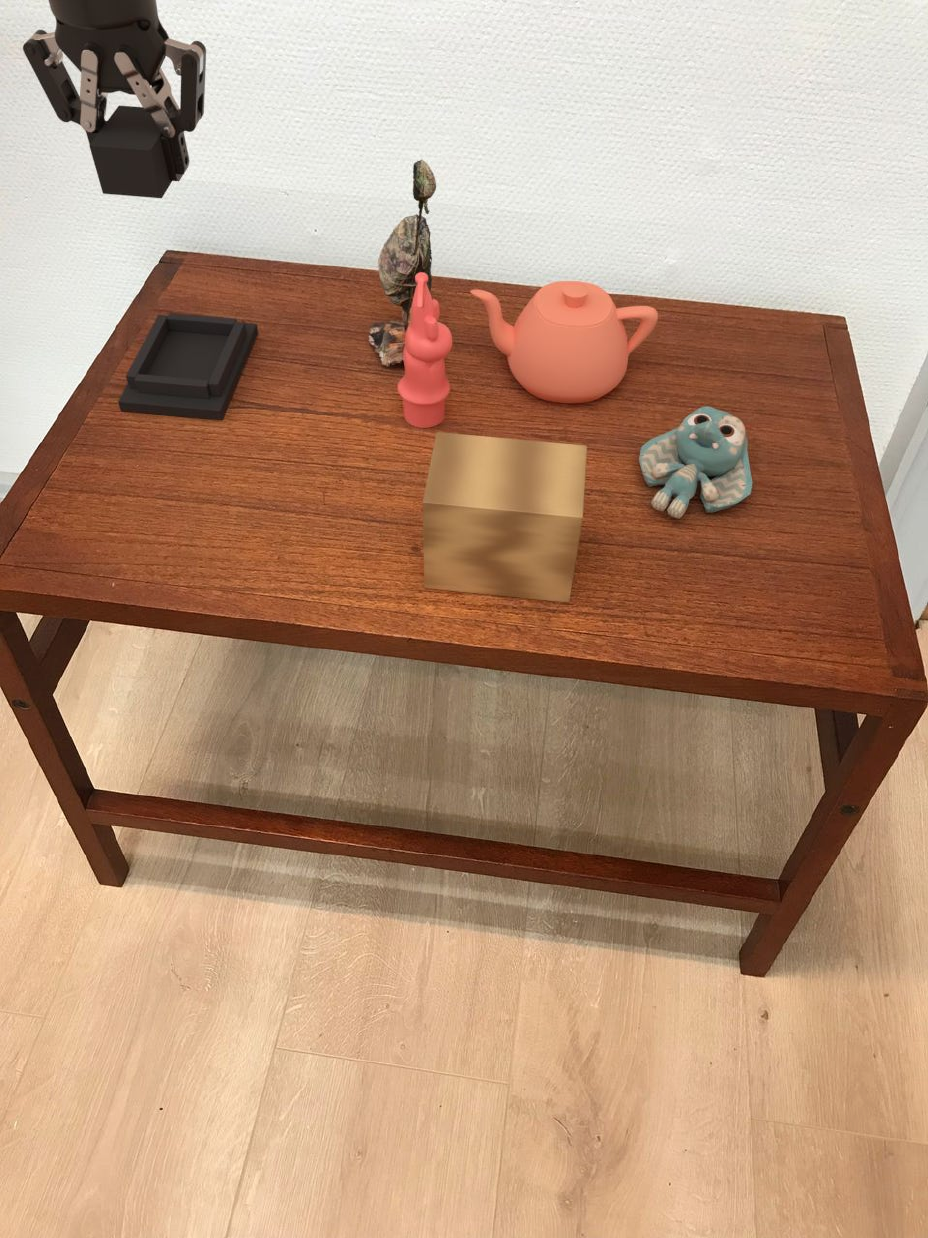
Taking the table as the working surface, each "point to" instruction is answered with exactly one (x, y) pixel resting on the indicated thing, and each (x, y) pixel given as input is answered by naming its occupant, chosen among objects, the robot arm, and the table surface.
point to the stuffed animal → (699, 462)
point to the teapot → (568, 340)
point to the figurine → (425, 361)
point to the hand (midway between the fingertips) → (145, 172)
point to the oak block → (503, 516)
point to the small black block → (130, 155)
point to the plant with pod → (404, 267)
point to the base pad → (188, 366)
